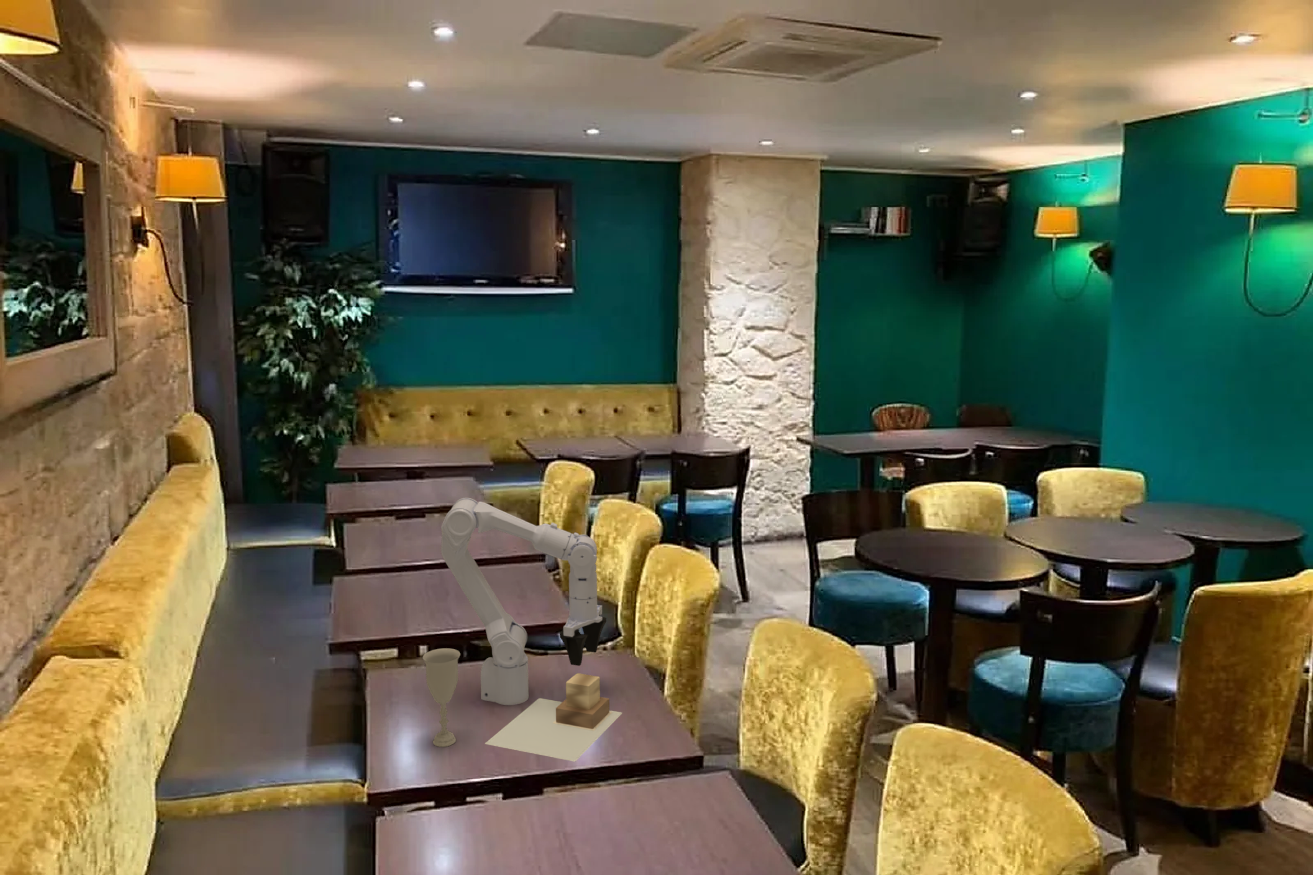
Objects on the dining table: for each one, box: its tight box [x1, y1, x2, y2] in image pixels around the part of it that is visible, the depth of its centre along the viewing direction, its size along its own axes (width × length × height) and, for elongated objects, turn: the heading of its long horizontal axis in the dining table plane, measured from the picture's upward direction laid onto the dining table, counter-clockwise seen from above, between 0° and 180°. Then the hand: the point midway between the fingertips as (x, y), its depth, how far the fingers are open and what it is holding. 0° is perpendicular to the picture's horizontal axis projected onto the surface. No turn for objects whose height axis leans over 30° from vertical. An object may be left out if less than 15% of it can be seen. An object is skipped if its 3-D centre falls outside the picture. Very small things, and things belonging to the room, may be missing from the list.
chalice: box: [422, 647, 461, 748], centre depth 189 cm, size 7×7×18 cm
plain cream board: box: [484, 697, 623, 763], centre depth 196 cm, size 19×22×1 cm
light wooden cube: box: [565, 672, 601, 710], centre depth 200 cm, size 5×5×5 cm
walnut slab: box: [556, 696, 610, 729], centre depth 200 cm, size 8×8×3 cm
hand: (583, 658), depth 209 cm, fingers open, 7 cm apart
